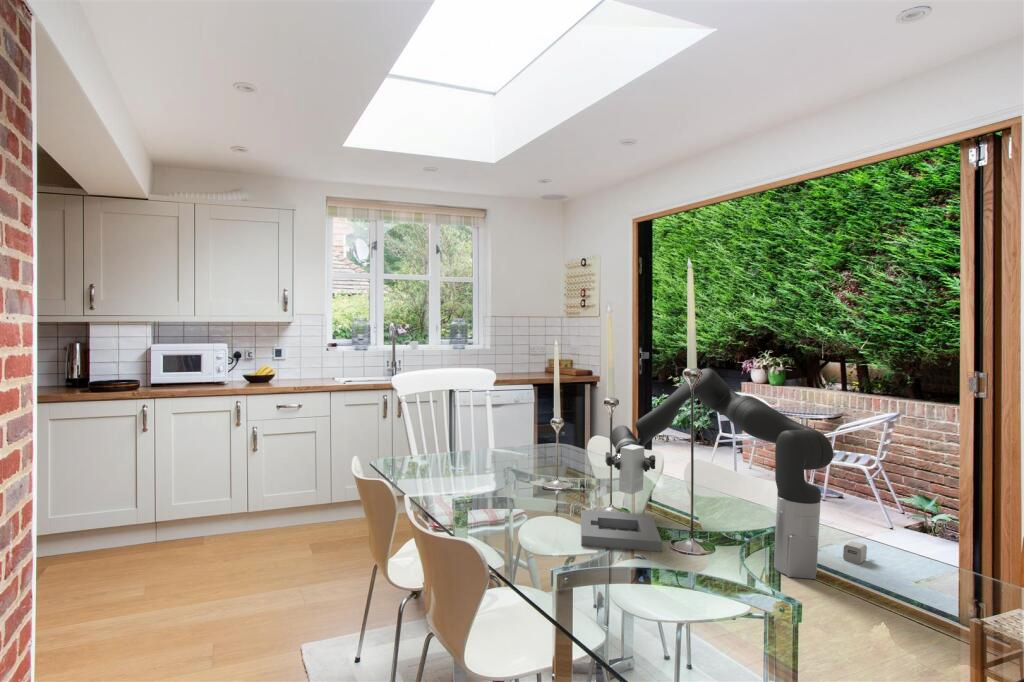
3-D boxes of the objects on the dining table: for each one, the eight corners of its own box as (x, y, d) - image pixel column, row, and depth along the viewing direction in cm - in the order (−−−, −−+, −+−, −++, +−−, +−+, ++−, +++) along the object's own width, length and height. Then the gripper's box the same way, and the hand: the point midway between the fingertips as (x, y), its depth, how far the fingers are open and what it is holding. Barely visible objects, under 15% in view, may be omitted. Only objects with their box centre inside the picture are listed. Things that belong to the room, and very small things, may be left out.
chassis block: (661, 551, 154) (662, 541, 154) (581, 545, 156) (581, 535, 156) (651, 523, 176) (651, 514, 176) (580, 518, 178) (581, 509, 178)
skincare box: (629, 487, 169) (631, 443, 169) (643, 490, 167) (645, 446, 166) (617, 491, 165) (619, 447, 164) (631, 494, 162) (634, 449, 161)
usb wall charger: (842, 560, 154) (843, 544, 153) (852, 553, 158) (852, 538, 158) (860, 564, 151) (861, 548, 151) (869, 558, 156) (870, 542, 155)
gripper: (604, 438, 180) (605, 451, 164) (654, 442, 178) (660, 454, 162) (603, 464, 181) (604, 479, 164) (653, 467, 179) (659, 483, 162)
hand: (632, 467), depth 163 cm, fingers closed on skincare box, 6 cm apart
